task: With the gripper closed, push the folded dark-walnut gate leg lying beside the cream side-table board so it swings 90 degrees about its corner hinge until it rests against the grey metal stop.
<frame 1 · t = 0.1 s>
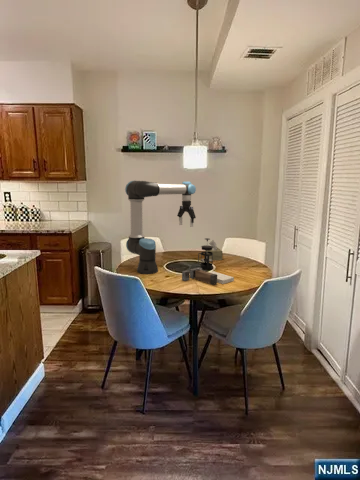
hand: (186, 225, 271), 28 cm above the table, fingers open, 13 cm apart
hinge hardware: (197, 278, 218), on the table
tissue box: (213, 258, 280), on the table
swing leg: (206, 276, 212), point 3 cm above the table, hinge at 0.0°
french press: (205, 268, 246), on the table
table-top board: (217, 279, 219), on the table
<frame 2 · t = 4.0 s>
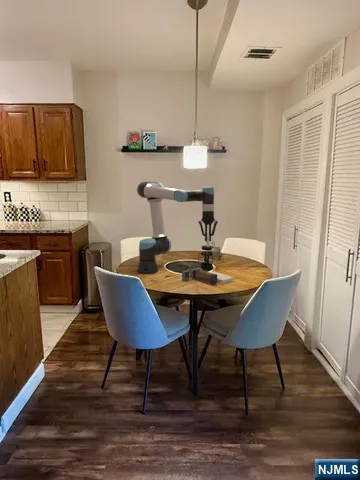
hand: (208, 246, 213), 23 cm above the table, fingers closed
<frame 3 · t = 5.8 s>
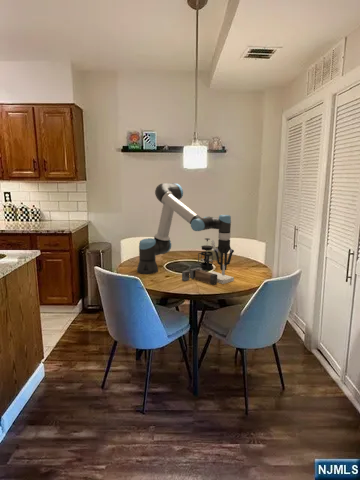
hand: (223, 274, 210), 5 cm above the table, fingers closed
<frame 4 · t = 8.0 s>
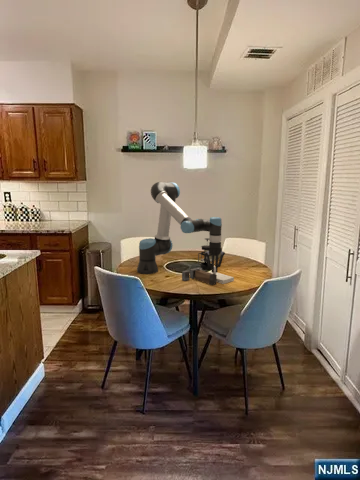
hand: (214, 277, 210), 4 cm above the table, fingers closed
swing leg: (205, 276, 212), point 3 cm above the table, hinge at 2.8°
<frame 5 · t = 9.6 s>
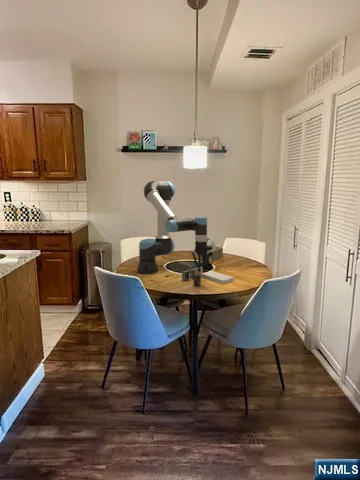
hand: (201, 277, 208), 4 cm above the table, fingers closed
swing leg: (197, 277, 210), point 3 cm above the table, hinge at 46.5°, touching gripper
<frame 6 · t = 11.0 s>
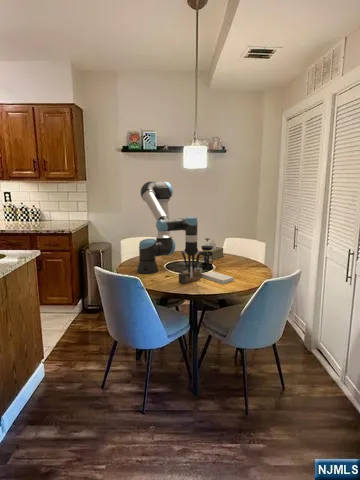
hand: (191, 277, 208), 4 cm above the table, fingers closed
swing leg: (189, 276, 212), point 3 cm above the table, hinge at 88.3°, touching gripper
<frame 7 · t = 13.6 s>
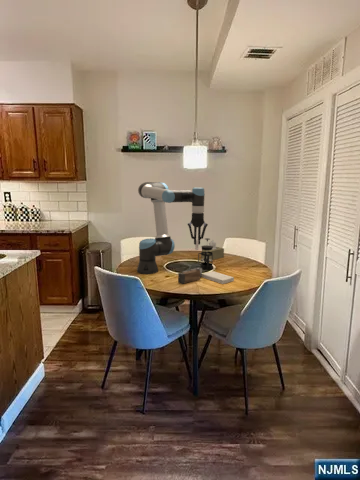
hand: (196, 249, 206), 22 cm above the table, fingers closed
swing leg: (189, 276, 213), point 3 cm above the table, hinge at 90.3°
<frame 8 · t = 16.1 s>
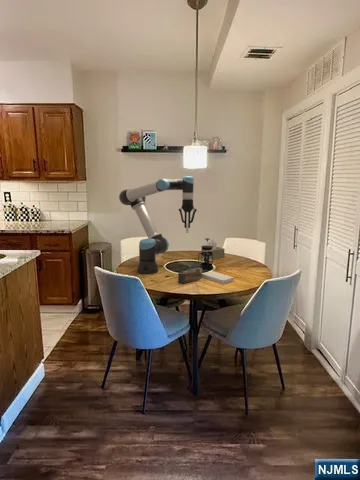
hand: (187, 232, 227), 29 cm above the table, fingers closed
at the end: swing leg at +90° (first picture: +0°); french press moved 0.2 cm from its start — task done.
